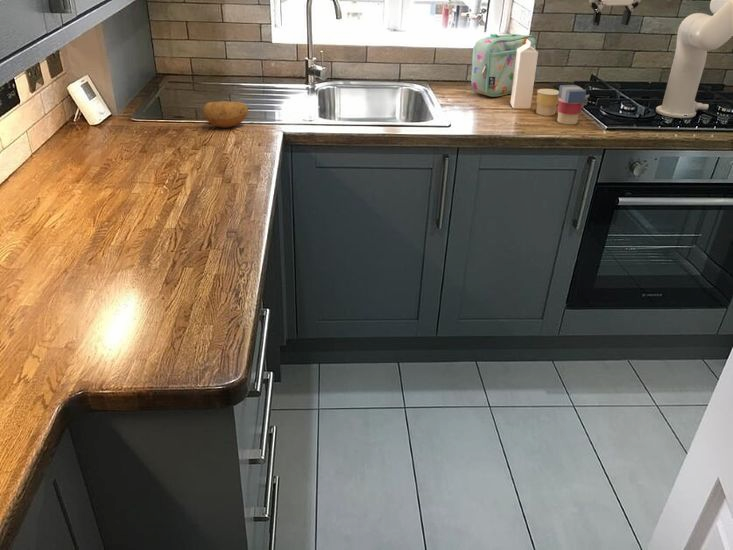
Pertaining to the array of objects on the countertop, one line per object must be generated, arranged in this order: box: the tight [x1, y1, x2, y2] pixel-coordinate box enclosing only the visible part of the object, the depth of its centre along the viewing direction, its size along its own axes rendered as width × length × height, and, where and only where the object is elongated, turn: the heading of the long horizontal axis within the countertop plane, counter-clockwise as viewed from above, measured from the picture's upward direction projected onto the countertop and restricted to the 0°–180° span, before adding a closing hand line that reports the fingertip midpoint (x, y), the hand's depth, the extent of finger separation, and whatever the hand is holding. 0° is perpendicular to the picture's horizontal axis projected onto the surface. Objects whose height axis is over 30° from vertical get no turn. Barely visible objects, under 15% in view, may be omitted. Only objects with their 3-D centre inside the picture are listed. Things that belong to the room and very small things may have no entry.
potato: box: [202, 100, 249, 129], centre depth 192 cm, size 10×14×8 cm
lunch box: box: [470, 33, 537, 98], centre depth 225 cm, size 27×10×21 cm, turn 127°
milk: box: [509, 39, 539, 109], centre depth 210 cm, size 6×6×22 cm
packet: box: [558, 84, 587, 103], centre depth 195 cm, size 6×8×4 cm
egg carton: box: [556, 94, 590, 109], centre depth 216 cm, size 11×8×4 cm
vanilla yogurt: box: [535, 88, 559, 117], centre depth 207 cm, size 8×8×7 cm
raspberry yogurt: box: [556, 98, 582, 125], centre depth 198 cm, size 8×8×7 cm
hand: (610, 24), depth 194 cm, fingers open, 9 cm apart
